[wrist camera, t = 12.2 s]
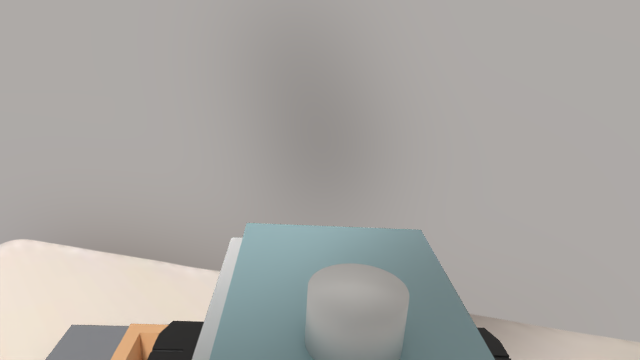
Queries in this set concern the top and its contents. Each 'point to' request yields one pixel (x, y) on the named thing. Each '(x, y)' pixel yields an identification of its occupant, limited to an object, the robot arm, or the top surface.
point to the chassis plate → (107, 342)
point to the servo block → (342, 298)
